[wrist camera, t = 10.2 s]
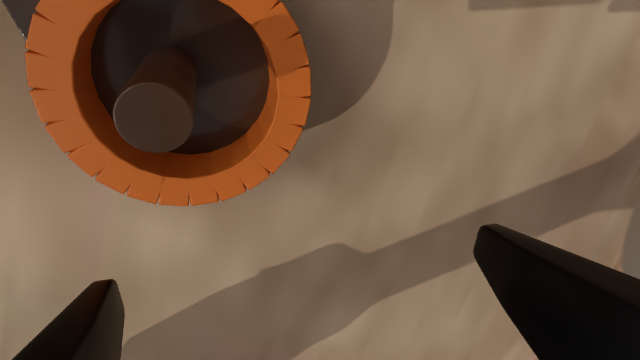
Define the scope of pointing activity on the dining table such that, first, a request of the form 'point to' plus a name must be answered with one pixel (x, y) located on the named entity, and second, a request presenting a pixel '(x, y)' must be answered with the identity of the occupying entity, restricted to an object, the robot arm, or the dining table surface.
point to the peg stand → (174, 72)
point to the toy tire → (163, 168)
